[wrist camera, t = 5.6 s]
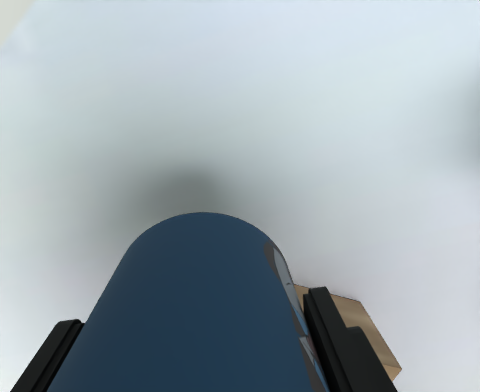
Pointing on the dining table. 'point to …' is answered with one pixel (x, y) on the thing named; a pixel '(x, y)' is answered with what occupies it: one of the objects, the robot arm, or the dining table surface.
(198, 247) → the soda can
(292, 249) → the dining table surface
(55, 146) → the dining table surface
